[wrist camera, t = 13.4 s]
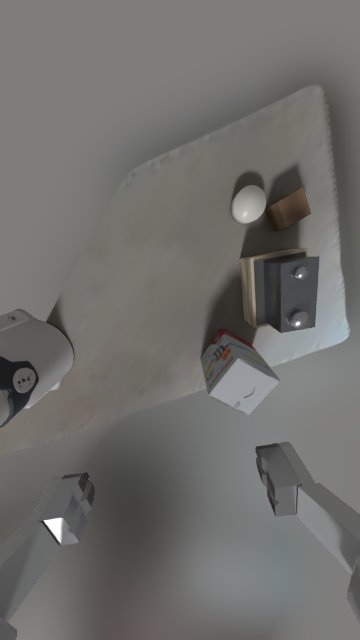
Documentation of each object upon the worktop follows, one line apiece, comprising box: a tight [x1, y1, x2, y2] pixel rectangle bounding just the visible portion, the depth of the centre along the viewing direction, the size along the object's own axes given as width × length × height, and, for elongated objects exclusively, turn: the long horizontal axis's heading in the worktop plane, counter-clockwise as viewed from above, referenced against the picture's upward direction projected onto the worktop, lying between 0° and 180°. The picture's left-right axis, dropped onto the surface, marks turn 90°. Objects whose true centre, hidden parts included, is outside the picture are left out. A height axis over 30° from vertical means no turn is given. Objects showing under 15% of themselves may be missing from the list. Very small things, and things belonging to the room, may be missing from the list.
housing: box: [263, 257, 319, 333], centre depth 27 cm, size 10×5×6 cm, turn 10°
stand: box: [240, 248, 308, 328], centre depth 33 cm, size 9×12×5 cm
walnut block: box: [265, 187, 311, 231], centre depth 29 cm, size 4×4×4 cm
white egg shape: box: [230, 185, 266, 224], centre depth 30 cm, size 5×5×2 cm
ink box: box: [201, 329, 280, 415], centre depth 34 cm, size 9×9×12 cm
